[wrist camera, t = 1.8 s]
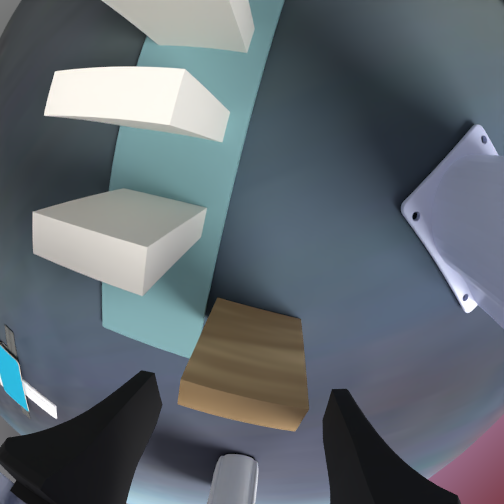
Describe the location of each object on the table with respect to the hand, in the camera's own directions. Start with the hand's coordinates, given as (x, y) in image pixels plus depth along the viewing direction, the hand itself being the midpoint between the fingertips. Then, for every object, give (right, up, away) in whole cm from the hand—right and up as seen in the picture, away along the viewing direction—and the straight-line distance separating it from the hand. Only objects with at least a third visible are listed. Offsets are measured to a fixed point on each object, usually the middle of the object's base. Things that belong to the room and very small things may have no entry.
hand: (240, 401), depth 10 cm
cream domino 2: (-3, +13, +3) cm, 13 cm away
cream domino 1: (-2, +17, +1) cm, 17 cm away
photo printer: (-1, -17, +13) cm, 21 cm away
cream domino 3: (-4, +8, +4) cm, 10 cm away
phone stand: (-28, -10, +14) cm, 33 cm away
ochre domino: (+1, +2, +6) cm, 7 cm away
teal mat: (-3, +13, +3) cm, 14 cm away
